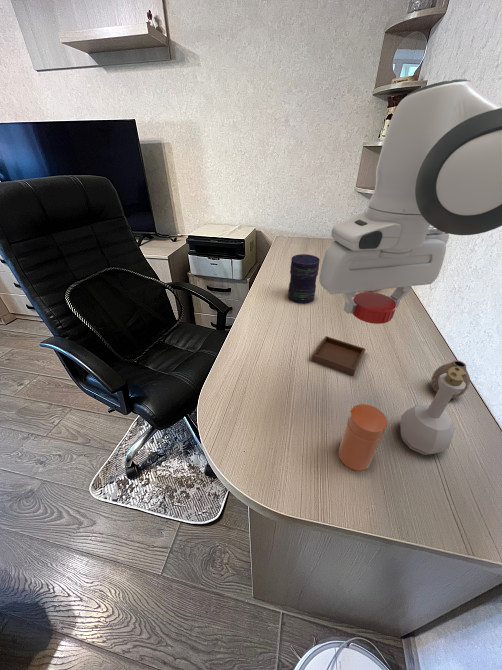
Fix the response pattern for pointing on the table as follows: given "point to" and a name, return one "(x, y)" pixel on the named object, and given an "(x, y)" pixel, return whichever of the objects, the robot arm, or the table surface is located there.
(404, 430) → the potion bottle
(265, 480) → the table surface
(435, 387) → the vase
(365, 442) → the jar
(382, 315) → the jar lid
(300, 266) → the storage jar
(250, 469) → the table surface
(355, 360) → the tray
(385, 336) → the table surface
